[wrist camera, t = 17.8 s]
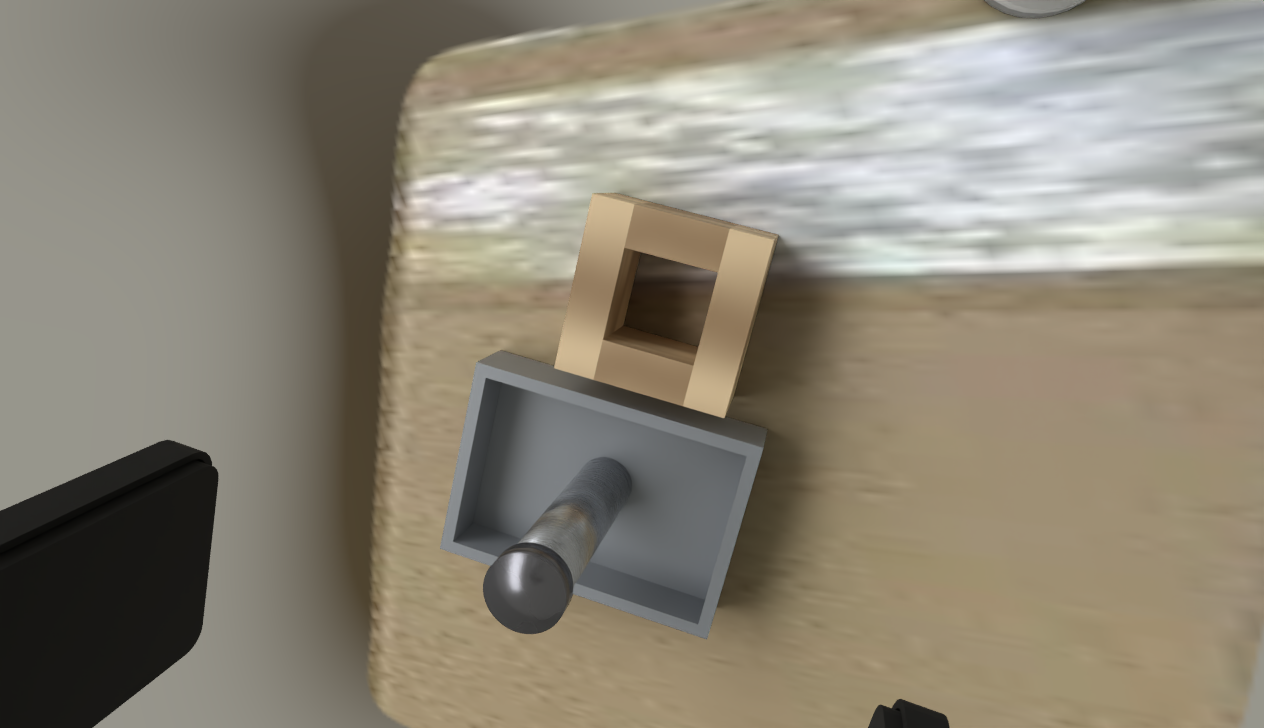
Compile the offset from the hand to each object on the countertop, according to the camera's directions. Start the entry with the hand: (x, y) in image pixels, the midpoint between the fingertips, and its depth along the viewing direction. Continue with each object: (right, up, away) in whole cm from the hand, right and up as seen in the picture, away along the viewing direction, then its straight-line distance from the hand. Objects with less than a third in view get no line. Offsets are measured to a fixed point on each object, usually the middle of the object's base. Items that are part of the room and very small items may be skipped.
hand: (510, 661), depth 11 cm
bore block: (+4, +7, +29) cm, 30 cm away
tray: (0, -2, +32) cm, 32 cm away
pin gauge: (0, -2, +31) cm, 31 cm away
